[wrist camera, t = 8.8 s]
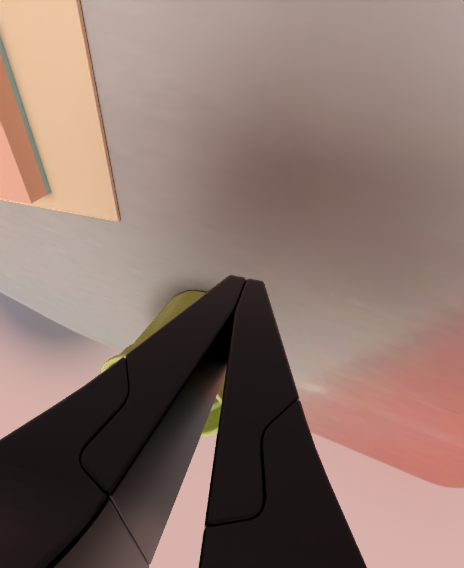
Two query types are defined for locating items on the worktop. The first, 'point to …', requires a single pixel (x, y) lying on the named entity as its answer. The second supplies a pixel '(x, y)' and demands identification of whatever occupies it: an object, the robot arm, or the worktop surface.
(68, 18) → the cork mat
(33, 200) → the tile
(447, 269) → the worktop surface
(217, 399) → the plant pot
